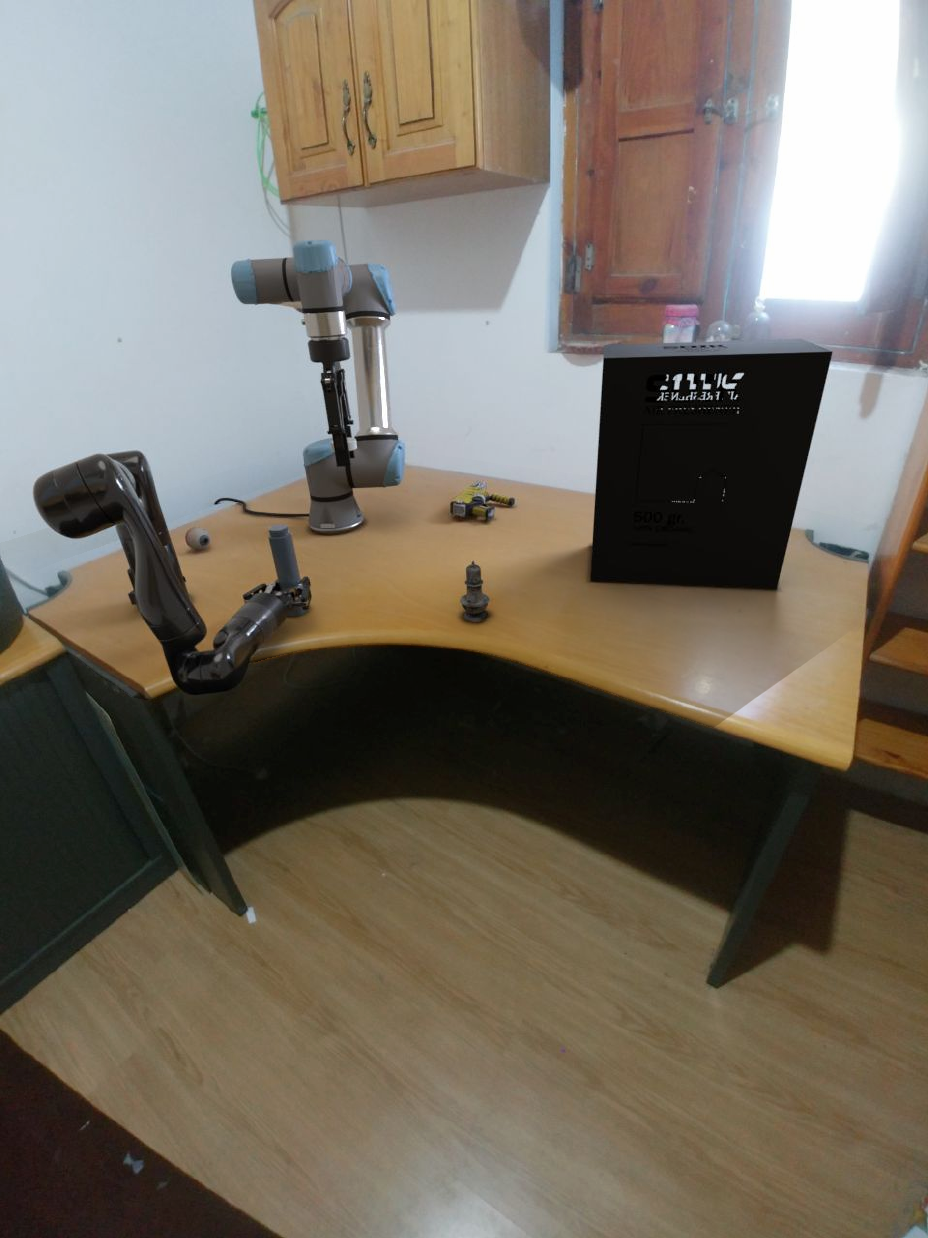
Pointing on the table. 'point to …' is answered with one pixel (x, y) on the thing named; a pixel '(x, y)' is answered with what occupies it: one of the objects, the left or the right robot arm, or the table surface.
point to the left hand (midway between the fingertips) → (296, 580)
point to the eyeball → (197, 538)
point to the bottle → (285, 560)
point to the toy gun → (477, 502)
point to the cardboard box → (703, 460)
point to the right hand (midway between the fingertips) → (346, 461)
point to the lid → (351, 444)
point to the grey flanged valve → (474, 595)
